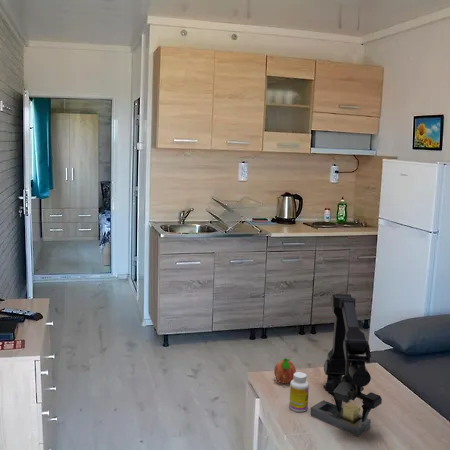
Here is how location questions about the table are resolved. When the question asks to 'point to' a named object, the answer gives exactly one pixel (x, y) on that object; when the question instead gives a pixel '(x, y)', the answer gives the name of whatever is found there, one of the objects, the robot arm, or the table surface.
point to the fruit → (284, 371)
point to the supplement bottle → (299, 392)
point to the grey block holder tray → (338, 418)
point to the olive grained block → (351, 413)
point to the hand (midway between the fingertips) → (351, 416)
